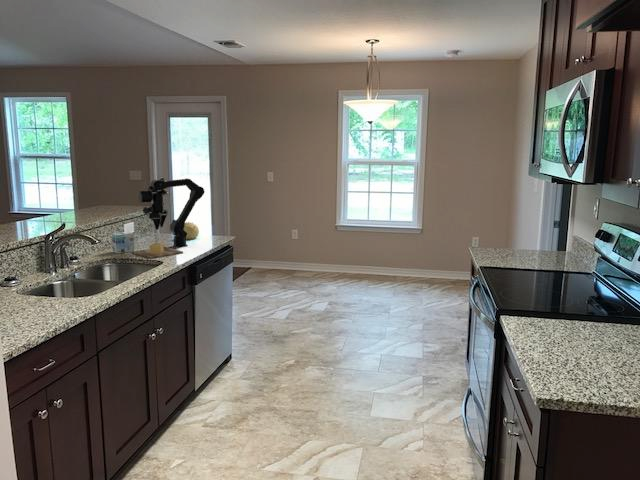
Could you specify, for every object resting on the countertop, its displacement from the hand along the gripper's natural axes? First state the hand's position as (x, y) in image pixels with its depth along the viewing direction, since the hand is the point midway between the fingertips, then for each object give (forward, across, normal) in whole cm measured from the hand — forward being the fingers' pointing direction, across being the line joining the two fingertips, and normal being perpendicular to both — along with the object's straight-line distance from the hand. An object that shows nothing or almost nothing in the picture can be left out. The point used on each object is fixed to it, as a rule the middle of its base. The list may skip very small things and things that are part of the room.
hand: (159, 228), depth 297 cm
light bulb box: (+12, +8, -18) cm, 24 cm away
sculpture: (+12, -33, +10) cm, 36 cm away
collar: (+11, +17, +3) cm, 20 cm away
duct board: (+12, +13, +2) cm, 18 cm away
